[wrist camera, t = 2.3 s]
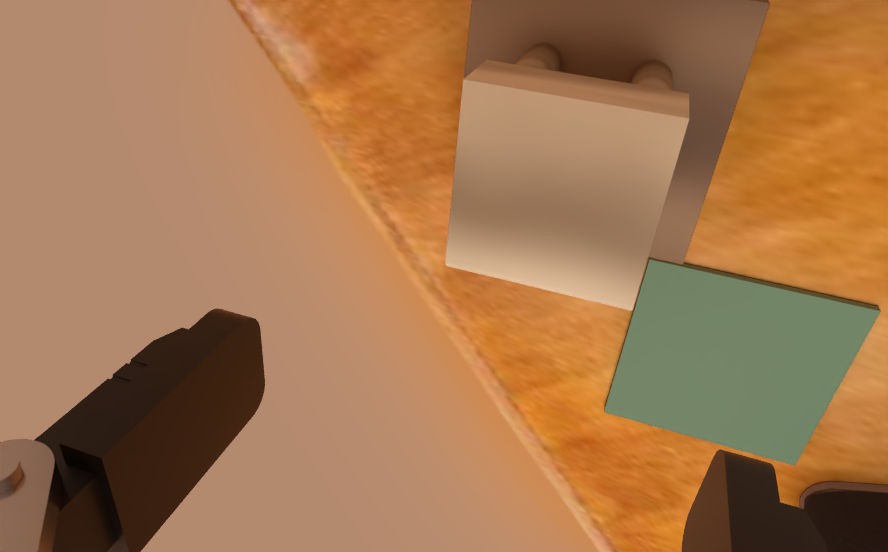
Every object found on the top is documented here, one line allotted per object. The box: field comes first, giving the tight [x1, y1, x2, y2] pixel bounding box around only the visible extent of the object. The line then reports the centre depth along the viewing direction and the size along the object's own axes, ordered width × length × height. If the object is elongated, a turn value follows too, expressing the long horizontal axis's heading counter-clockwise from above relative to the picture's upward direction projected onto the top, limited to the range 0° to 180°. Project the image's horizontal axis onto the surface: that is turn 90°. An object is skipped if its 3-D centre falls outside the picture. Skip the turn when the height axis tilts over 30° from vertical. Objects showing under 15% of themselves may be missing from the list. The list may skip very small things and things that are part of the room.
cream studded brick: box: [445, 43, 689, 311], centre depth 21 cm, size 6×6×8 cm
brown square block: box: [464, 0, 770, 264], centre depth 26 cm, size 10×10×4 cm
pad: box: [604, 257, 880, 465], centre depth 32 cm, size 10×10×1 cm
